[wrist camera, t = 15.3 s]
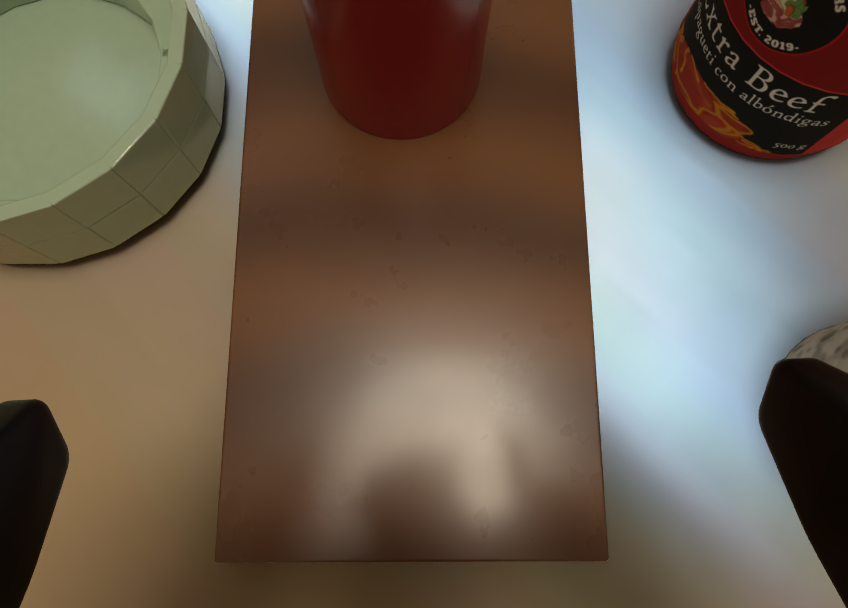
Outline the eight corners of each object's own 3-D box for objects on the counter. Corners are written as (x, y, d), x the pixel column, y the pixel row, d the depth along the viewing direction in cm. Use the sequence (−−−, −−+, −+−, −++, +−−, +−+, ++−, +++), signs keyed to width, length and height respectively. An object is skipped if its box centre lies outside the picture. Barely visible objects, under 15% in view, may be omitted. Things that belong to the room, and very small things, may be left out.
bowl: (217, 268, 22) (166, 225, 18) (-132, 269, 22) (-269, 226, 18) (239, -28, 25) (200, -128, 21) (-70, -28, 25) (-175, -128, 21)
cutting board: (596, 552, 20) (609, 561, 19) (228, 554, 20) (213, 563, 18) (561, -1, 25) (570, -29, 23) (264, 0, 25) (254, -29, 23)
